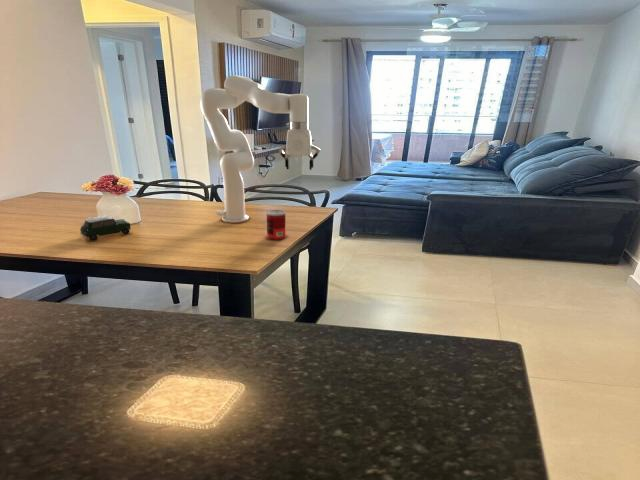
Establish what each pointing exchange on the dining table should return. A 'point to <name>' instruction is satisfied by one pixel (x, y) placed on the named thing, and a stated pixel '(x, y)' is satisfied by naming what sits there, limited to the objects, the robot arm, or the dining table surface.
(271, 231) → the canned food
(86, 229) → the miniature car
